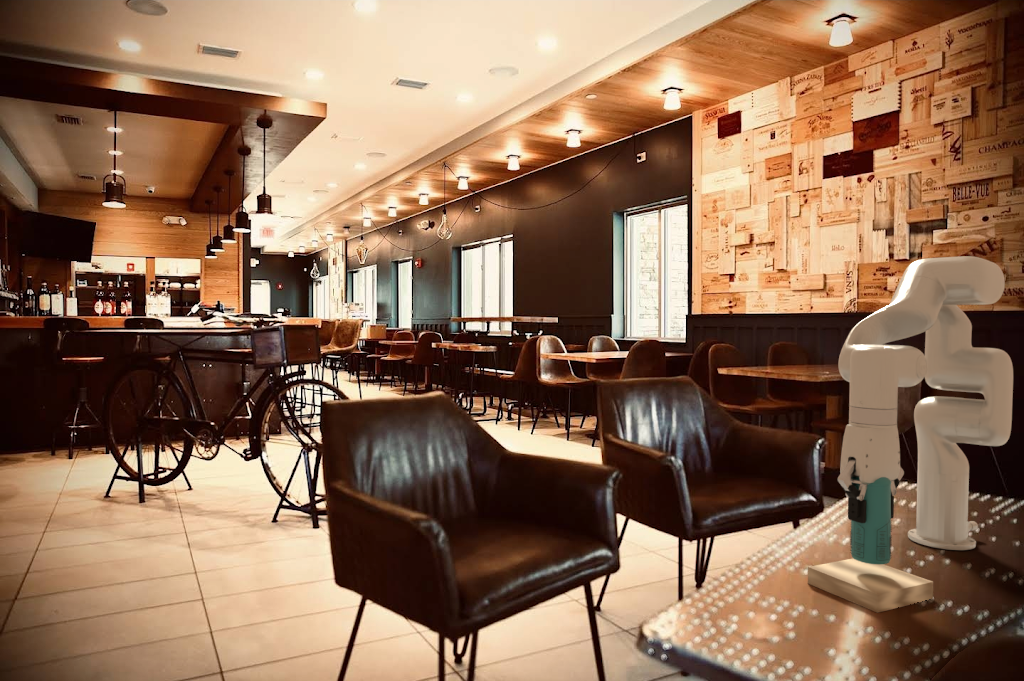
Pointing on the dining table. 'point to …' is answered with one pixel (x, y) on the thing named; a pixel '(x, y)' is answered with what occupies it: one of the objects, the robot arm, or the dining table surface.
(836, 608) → the dining table surface
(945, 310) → the robot arm
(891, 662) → the dining table surface
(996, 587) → the dining table surface
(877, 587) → the birch plinth
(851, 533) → the beverage bottle
